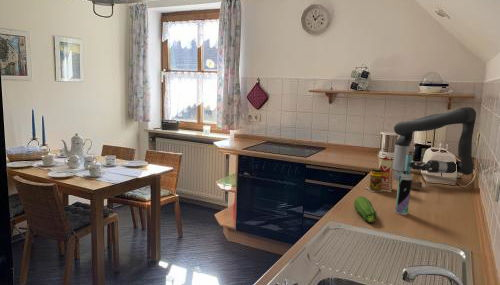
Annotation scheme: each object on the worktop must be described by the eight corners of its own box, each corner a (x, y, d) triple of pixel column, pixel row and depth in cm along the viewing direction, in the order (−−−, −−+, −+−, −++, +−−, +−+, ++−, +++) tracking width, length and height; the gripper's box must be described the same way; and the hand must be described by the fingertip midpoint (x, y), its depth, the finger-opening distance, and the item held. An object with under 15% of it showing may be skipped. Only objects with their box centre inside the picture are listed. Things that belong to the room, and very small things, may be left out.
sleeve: (393, 177, 242) (394, 170, 241) (403, 178, 242) (404, 171, 241) (400, 182, 231) (400, 175, 231) (410, 182, 231) (411, 175, 231)
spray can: (401, 215, 174) (406, 172, 170) (392, 211, 179) (397, 169, 175) (410, 214, 176) (415, 172, 173) (401, 210, 181) (406, 169, 177)
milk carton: (390, 192, 210) (395, 156, 206) (373, 189, 213) (377, 154, 210) (392, 188, 218) (396, 153, 215) (375, 185, 222) (378, 151, 218)
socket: (405, 186, 223) (406, 178, 222) (416, 187, 223) (417, 179, 222) (409, 189, 217) (410, 181, 216) (421, 190, 217) (422, 182, 216)
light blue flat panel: (397, 176, 241) (400, 151, 238) (402, 176, 241) (405, 151, 238) (406, 183, 226) (409, 156, 223) (411, 183, 226) (415, 156, 223)
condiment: (372, 192, 208) (374, 170, 206) (364, 187, 216) (366, 166, 214) (384, 191, 210) (386, 170, 208) (376, 187, 218) (378, 166, 216)
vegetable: (364, 192, 179) (377, 206, 159) (370, 205, 180) (383, 222, 160) (349, 198, 179) (361, 213, 160) (355, 211, 181) (367, 228, 161)
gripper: (432, 157, 235) (405, 156, 235) (443, 163, 221) (415, 161, 221) (430, 169, 236) (404, 168, 236) (441, 175, 222) (413, 174, 222)
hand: (409, 165), depth 229 cm, fingers open, 8 cm apart
